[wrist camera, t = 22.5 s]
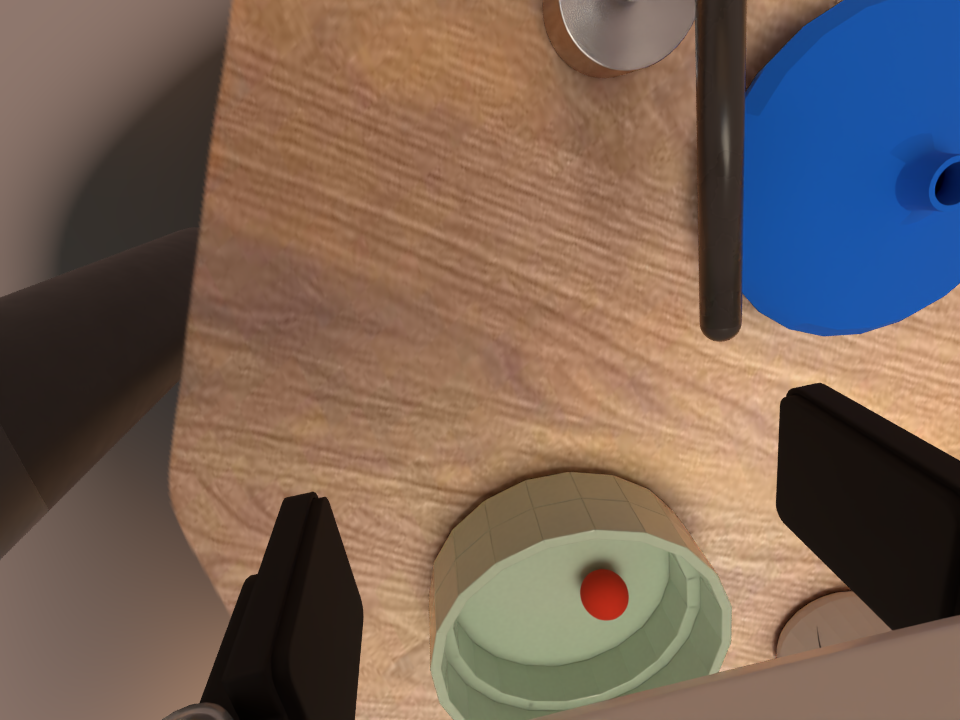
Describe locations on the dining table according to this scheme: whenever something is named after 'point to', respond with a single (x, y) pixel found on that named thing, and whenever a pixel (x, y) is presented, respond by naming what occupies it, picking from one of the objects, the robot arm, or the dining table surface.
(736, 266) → the ladle
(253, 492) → the dining table surface
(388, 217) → the dining table surface
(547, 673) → the bowl
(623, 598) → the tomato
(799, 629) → the mug
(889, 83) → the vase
